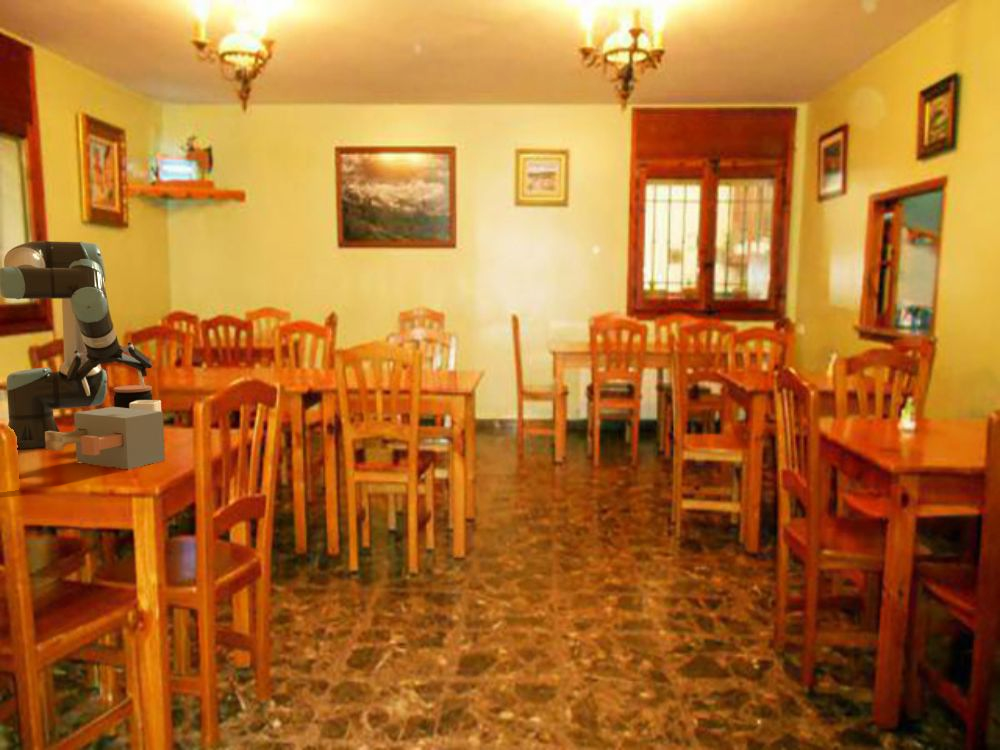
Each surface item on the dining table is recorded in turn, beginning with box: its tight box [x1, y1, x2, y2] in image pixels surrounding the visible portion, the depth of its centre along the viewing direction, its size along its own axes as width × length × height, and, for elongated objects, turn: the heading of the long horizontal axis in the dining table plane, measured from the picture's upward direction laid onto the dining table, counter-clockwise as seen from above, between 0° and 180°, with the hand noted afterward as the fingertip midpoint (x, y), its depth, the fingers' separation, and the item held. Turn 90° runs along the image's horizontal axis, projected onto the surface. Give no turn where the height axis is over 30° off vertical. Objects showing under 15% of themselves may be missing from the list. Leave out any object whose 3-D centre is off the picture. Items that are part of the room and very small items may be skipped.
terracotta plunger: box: [81, 433, 123, 455], centre depth 193 cm, size 5×12×5 cm, turn 156°
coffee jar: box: [113, 384, 153, 408], centre depth 226 cm, size 11×11×18 cm
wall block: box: [73, 406, 166, 470], centre depth 204 cm, size 20×12×14 cm, turn 66°
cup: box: [129, 399, 162, 411], centre depth 217 cm, size 7×7×15 cm
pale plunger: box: [45, 429, 87, 451], centre depth 198 cm, size 5×12×5 cm, turn 156°
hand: (115, 387), depth 203 cm, fingers open, 13 cm apart
